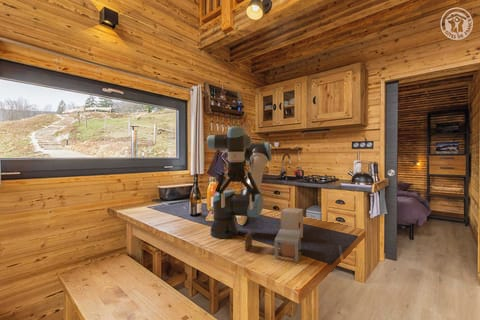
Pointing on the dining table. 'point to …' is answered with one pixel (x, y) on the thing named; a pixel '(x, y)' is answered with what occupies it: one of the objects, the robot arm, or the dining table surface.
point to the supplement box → (292, 219)
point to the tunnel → (288, 240)
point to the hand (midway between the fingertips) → (237, 208)
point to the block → (287, 249)
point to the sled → (260, 249)
